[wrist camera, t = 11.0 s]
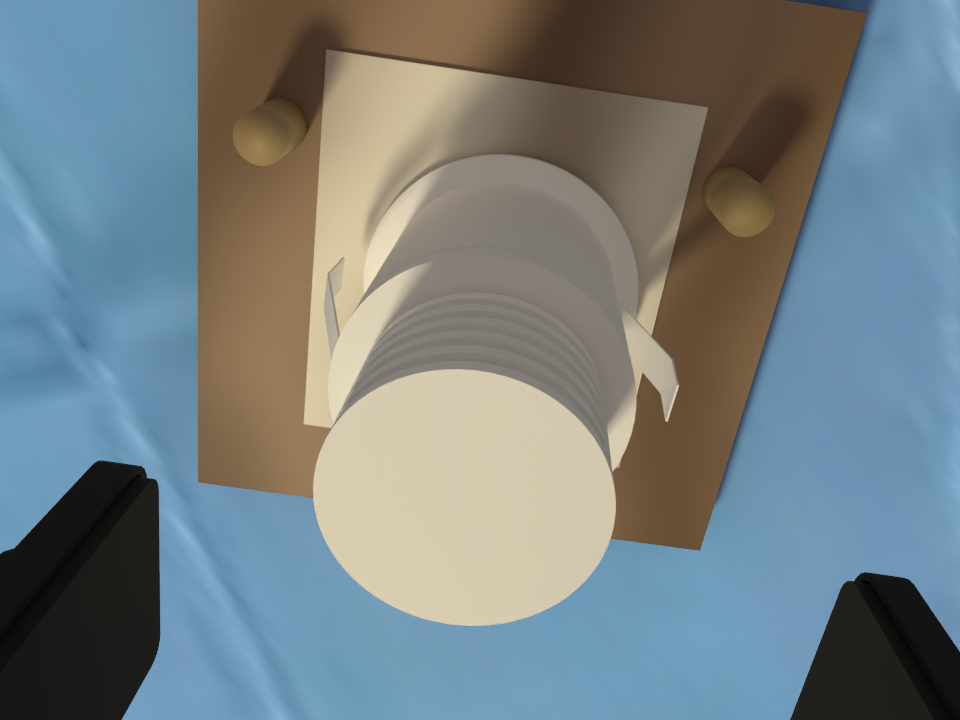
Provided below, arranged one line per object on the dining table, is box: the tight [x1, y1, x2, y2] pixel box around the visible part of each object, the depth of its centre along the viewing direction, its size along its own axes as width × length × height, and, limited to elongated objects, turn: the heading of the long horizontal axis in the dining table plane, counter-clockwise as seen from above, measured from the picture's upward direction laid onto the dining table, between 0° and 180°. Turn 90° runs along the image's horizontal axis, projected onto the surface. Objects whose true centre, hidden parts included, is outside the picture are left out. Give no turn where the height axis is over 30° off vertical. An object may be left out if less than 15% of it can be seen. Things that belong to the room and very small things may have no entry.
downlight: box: [313, 154, 679, 626], centre depth 17 cm, size 8×7×10 cm
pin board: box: [198, 0, 867, 551], centre depth 21 cm, size 15×15×3 cm
